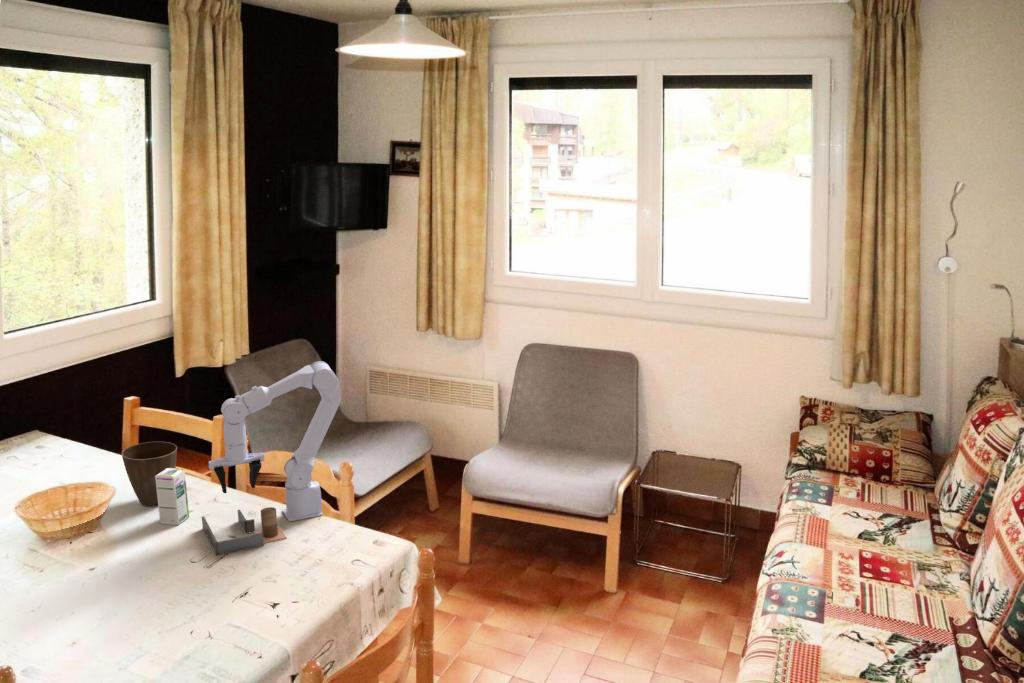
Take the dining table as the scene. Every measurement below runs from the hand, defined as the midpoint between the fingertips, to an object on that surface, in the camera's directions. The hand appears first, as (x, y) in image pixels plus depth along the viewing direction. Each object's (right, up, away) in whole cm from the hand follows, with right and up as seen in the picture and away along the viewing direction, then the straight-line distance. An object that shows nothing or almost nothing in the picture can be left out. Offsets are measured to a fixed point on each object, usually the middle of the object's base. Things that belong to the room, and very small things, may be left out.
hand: (238, 489), depth 258 cm
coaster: (+10, -12, -5) cm, 16 cm away
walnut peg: (+10, -11, -6) cm, 16 cm away
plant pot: (-29, -6, +16) cm, 34 cm away
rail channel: (0, -12, -6) cm, 13 cm away
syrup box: (-19, -9, +4) cm, 21 cm away
